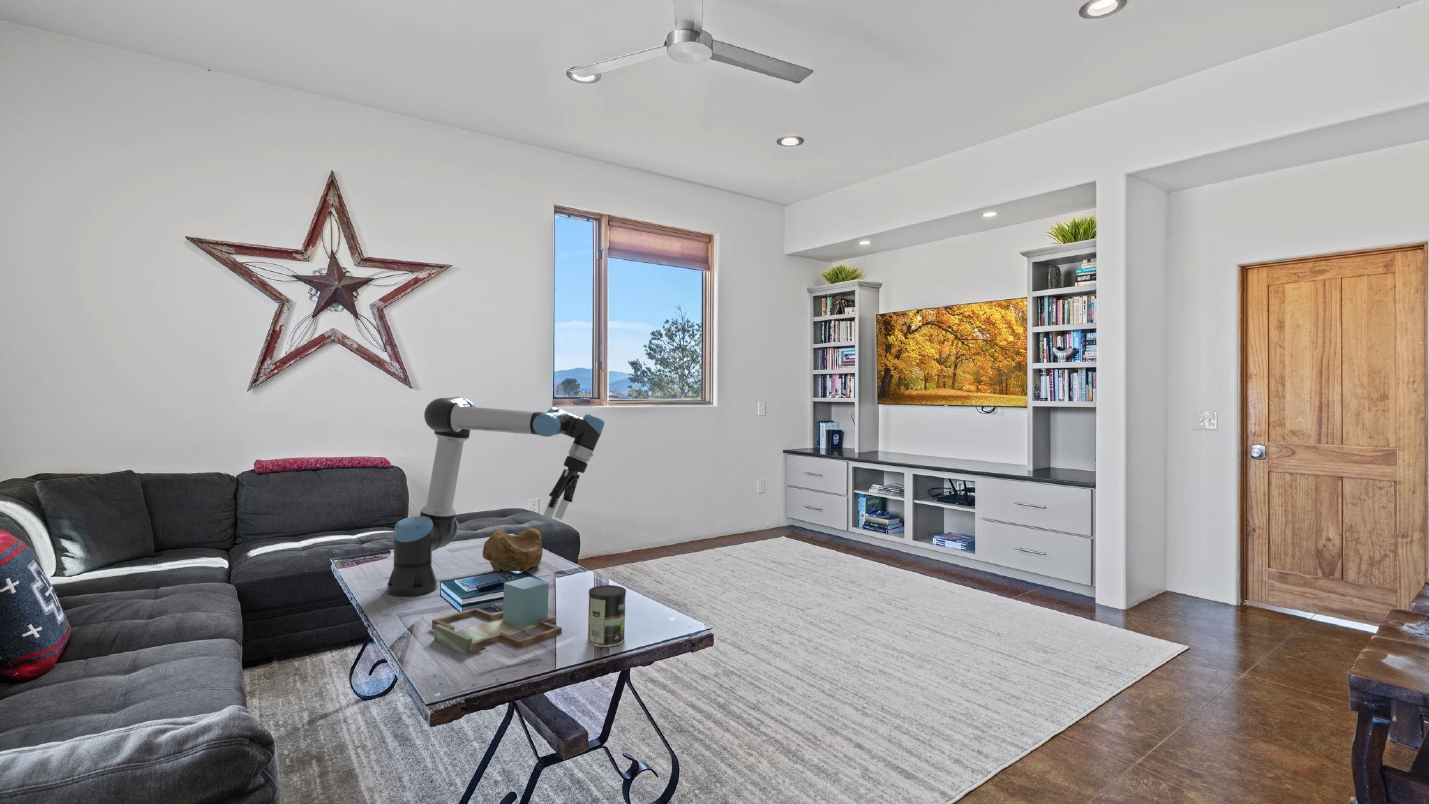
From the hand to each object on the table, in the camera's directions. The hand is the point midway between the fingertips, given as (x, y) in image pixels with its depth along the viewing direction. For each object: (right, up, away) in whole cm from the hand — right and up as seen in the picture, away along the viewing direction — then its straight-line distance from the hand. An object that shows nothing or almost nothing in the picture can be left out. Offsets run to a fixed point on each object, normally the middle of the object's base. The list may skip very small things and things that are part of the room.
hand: (552, 517), depth 228 cm
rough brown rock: (-19, -24, +27) cm, 41 cm away
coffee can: (+24, -28, -39) cm, 53 cm away
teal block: (-1, -25, -28) cm, 38 cm away
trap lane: (-7, -26, -35) cm, 44 cm away
